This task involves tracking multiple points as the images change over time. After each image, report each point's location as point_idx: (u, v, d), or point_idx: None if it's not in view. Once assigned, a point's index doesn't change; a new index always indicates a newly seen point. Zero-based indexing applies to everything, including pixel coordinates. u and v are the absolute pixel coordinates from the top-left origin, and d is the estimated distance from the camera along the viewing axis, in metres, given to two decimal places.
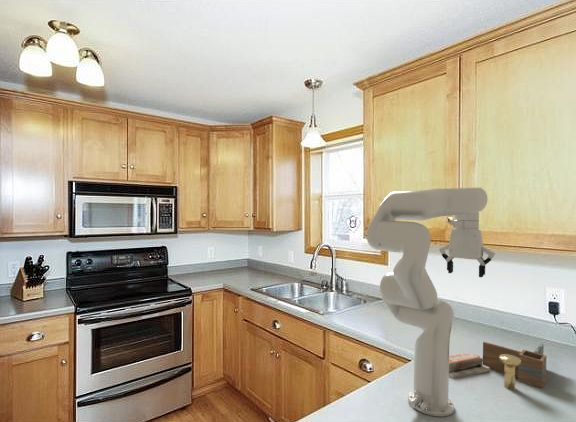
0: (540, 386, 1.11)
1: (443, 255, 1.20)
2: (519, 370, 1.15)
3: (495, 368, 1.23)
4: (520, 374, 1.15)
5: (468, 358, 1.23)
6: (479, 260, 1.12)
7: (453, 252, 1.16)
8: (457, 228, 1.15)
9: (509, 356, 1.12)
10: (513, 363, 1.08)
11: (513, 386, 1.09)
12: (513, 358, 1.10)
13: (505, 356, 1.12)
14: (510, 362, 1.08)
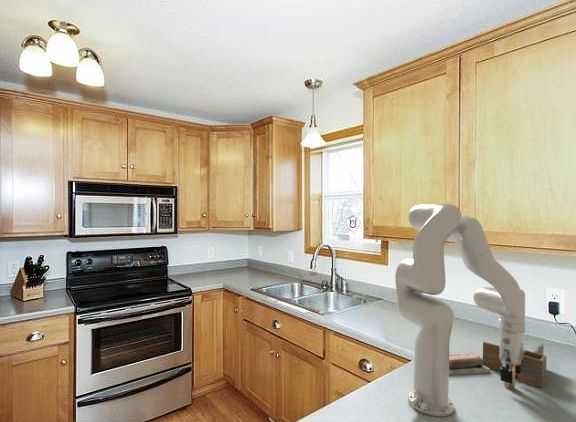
0: (540, 386, 1.11)
1: (507, 366, 1.05)
2: None
3: (495, 368, 1.23)
4: (520, 374, 1.15)
5: (467, 358, 1.23)
6: None
7: (518, 359, 1.07)
8: (521, 332, 1.07)
9: None
10: (513, 363, 1.08)
11: (513, 386, 1.09)
12: None
13: None
14: None
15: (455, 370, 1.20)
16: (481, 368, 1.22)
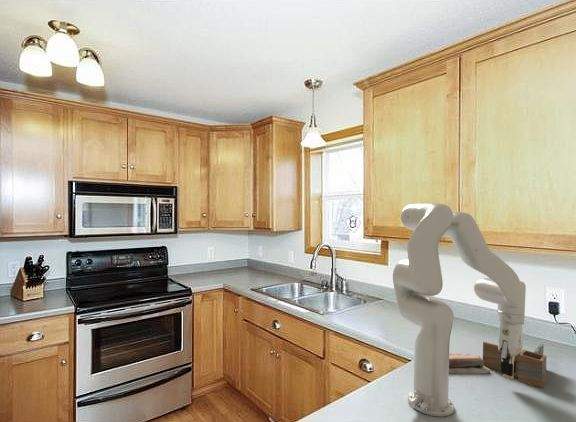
0: (540, 386, 1.11)
1: (508, 358, 1.07)
2: (519, 370, 1.15)
3: (495, 368, 1.23)
4: (520, 374, 1.15)
5: (466, 357, 1.23)
6: None
7: (516, 350, 1.06)
8: (520, 324, 1.07)
9: None
10: None
11: (512, 376, 1.09)
12: None
13: None
14: None
15: (452, 369, 1.21)
16: (480, 368, 1.21)
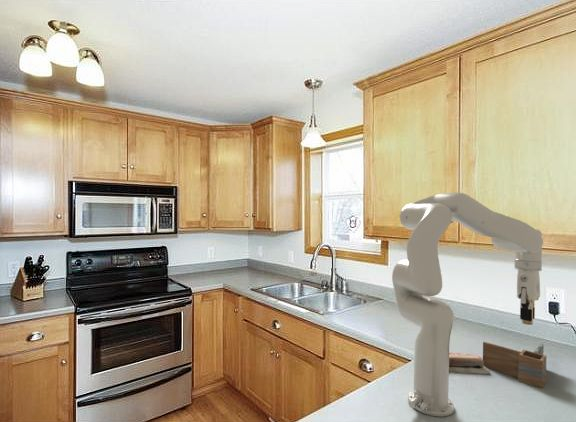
0: (540, 386, 1.11)
1: (527, 304, 1.11)
2: (519, 370, 1.15)
3: (495, 368, 1.23)
4: (520, 374, 1.15)
5: (465, 357, 1.23)
6: None
7: (535, 296, 1.10)
8: (538, 270, 1.10)
9: None
10: None
11: (531, 321, 1.13)
12: None
13: None
14: None
15: (450, 367, 1.22)
16: (480, 369, 1.21)
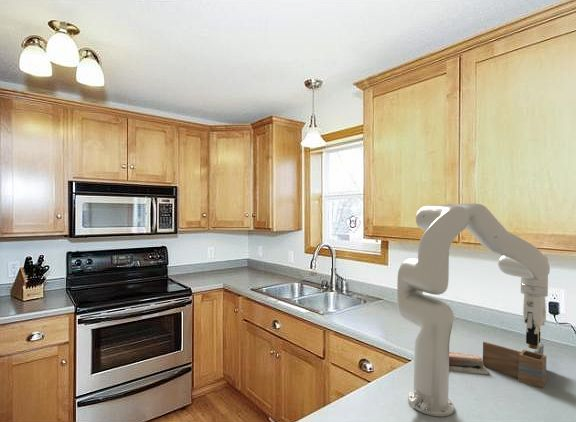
0: (540, 386, 1.11)
1: (533, 329, 1.12)
2: (519, 370, 1.15)
3: (495, 368, 1.23)
4: (520, 374, 1.15)
5: (464, 357, 1.24)
6: None
7: (541, 321, 1.11)
8: (544, 295, 1.12)
9: None
10: None
11: (537, 345, 1.14)
12: None
13: None
14: None
15: None
16: (479, 369, 1.21)
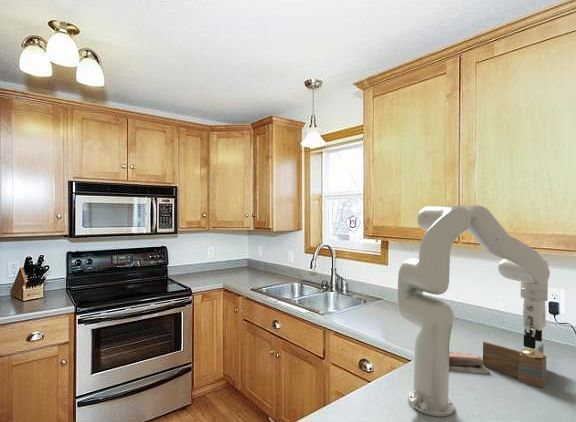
0: (540, 386, 1.11)
1: None
2: (519, 370, 1.15)
3: (495, 368, 1.23)
4: (520, 374, 1.15)
5: (464, 356, 1.24)
6: None
7: (541, 325, 1.11)
8: (544, 300, 1.12)
9: (531, 350, 1.16)
10: (536, 357, 1.12)
11: None
12: (536, 352, 1.15)
13: (527, 350, 1.16)
14: (533, 356, 1.13)
15: None
16: (479, 368, 1.21)
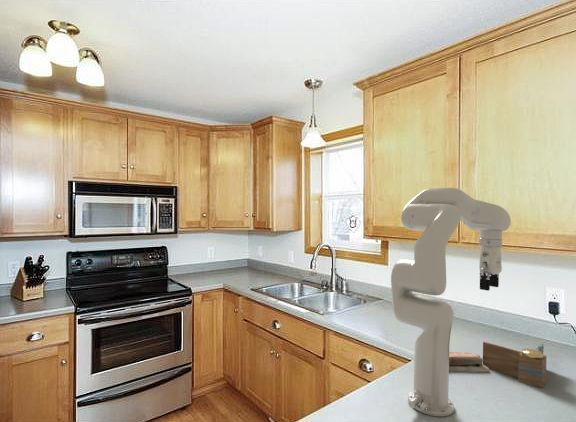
0: (540, 386, 1.11)
1: (485, 274, 1.23)
2: (519, 370, 1.15)
3: (495, 368, 1.23)
4: (520, 374, 1.15)
5: (465, 356, 1.25)
6: (497, 272, 1.30)
7: (494, 270, 1.24)
8: (498, 247, 1.24)
9: (531, 350, 1.16)
10: (536, 357, 1.12)
11: None
12: (536, 352, 1.15)
13: (527, 350, 1.16)
14: (533, 356, 1.13)
15: (451, 367, 1.22)
16: (479, 367, 1.23)
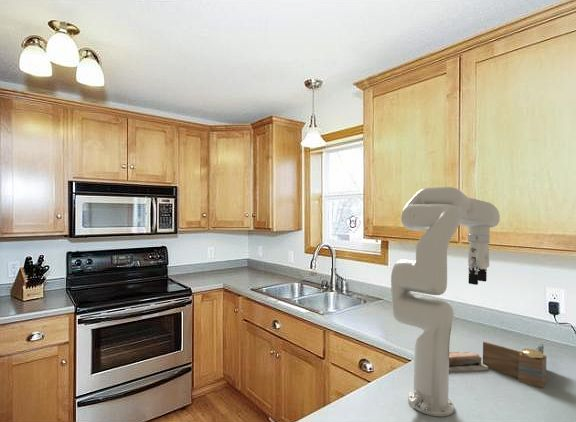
0: (540, 386, 1.11)
1: (473, 269, 1.27)
2: (519, 370, 1.15)
3: (495, 368, 1.23)
4: (520, 374, 1.15)
5: (465, 355, 1.25)
6: (485, 267, 1.34)
7: (483, 264, 1.28)
8: (485, 242, 1.28)
9: (531, 350, 1.16)
10: (536, 357, 1.12)
11: None
12: (536, 352, 1.15)
13: (527, 350, 1.16)
14: (533, 356, 1.13)
15: (453, 367, 1.22)
16: (479, 366, 1.24)
